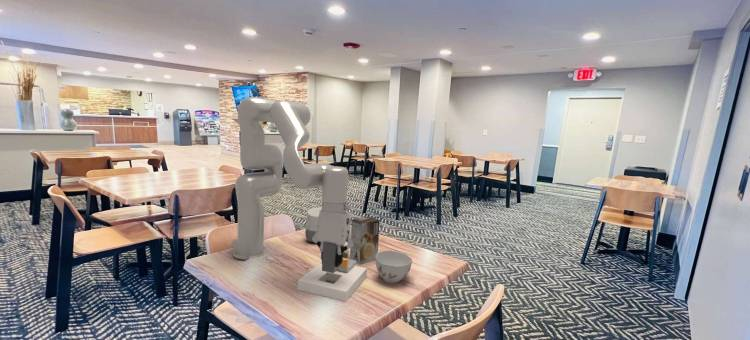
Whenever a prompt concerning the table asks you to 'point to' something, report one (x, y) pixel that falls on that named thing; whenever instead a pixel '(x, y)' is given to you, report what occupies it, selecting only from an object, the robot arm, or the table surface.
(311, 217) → the smart speaker
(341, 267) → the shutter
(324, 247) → the plug
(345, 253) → the cake
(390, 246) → the table surface
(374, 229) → the coffee box
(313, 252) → the table surface
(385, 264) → the white bowl
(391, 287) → the table surface
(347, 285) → the socket board
